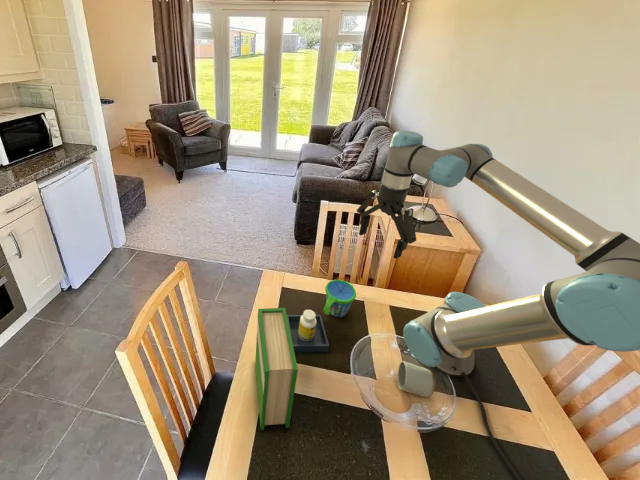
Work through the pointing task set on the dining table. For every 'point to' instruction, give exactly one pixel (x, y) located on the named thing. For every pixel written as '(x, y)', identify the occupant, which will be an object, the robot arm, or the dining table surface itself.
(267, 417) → the hardback book
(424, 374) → the ceramic mug
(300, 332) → the supplement bottle
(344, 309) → the snack cup
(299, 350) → the tote
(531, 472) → the dining table surface
